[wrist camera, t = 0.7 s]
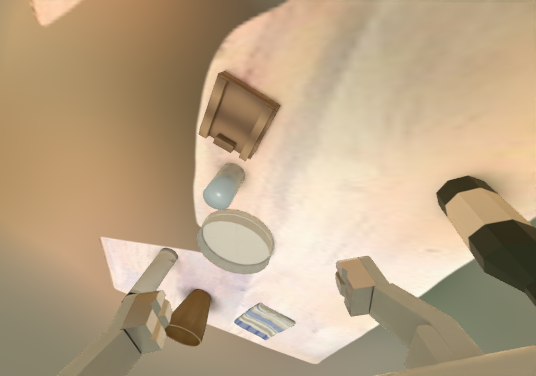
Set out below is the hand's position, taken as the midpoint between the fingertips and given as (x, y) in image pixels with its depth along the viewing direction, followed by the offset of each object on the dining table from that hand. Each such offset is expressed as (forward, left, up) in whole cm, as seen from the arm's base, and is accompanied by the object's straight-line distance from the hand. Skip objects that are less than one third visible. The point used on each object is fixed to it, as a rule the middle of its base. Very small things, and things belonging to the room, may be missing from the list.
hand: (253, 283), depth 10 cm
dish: (+43, +4, -38) cm, 58 cm away
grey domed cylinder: (+23, -6, -38) cm, 45 cm away
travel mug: (+68, -13, -38) cm, 79 cm away
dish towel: (+82, +33, -38) cm, 97 cm away
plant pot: (+85, +5, -38) cm, 94 cm away
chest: (+9, -10, -38) cm, 40 cm away
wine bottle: (-1, +36, -38) cm, 52 cm away
